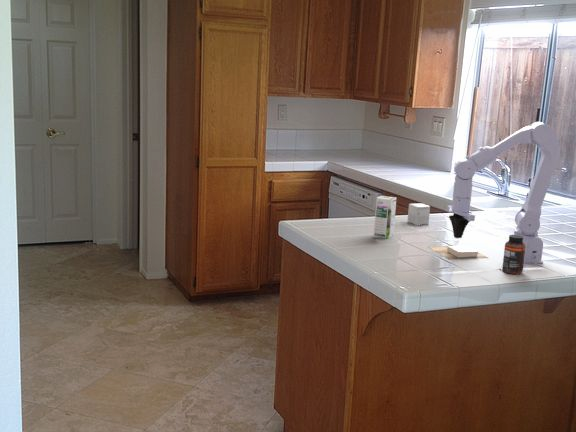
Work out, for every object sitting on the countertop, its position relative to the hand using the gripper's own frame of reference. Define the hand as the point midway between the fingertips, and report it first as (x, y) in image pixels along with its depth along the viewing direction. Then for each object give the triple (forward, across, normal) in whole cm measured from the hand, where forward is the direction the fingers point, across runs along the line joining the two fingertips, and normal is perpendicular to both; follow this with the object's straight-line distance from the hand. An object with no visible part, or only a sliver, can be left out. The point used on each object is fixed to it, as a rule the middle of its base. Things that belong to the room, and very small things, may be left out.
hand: (457, 237), depth 218 cm
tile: (+4, 0, 0) cm, 4 cm away
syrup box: (+6, -23, -16) cm, 28 cm away
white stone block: (+6, -42, +7) cm, 43 cm away
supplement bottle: (+6, +21, +7) cm, 23 cm away
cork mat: (+5, +1, 0) cm, 5 cm away
